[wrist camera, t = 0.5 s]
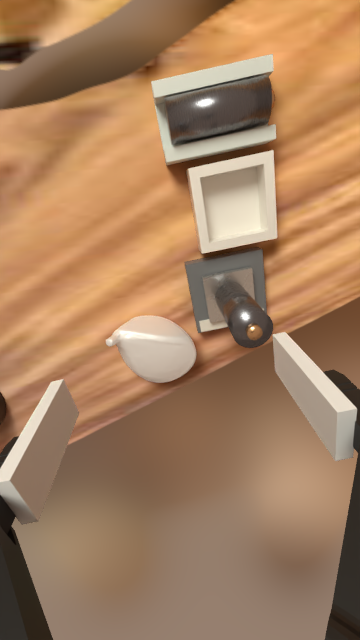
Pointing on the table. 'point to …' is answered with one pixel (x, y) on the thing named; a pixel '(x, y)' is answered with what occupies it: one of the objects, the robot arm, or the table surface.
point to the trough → (203, 81)
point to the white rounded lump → (154, 348)
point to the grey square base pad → (218, 265)
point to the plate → (216, 280)
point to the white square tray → (234, 201)
